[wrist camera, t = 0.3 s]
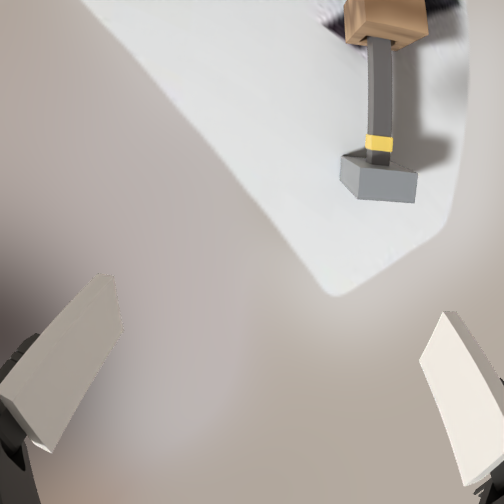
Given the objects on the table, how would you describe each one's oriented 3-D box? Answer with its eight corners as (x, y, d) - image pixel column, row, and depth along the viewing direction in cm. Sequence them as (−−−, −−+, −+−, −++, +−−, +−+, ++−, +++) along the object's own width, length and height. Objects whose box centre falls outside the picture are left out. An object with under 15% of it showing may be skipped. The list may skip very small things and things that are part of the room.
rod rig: (336, -23, 24) (350, -56, 16) (383, -15, 23) (407, -43, 15) (339, 180, 35) (357, 199, 27) (385, 183, 35) (414, 203, 26)
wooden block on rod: (343, 5, 24) (361, -25, 16) (393, 14, 24) (422, -10, 16) (345, 43, 26) (366, 20, 18) (396, 51, 26) (428, 34, 18)
